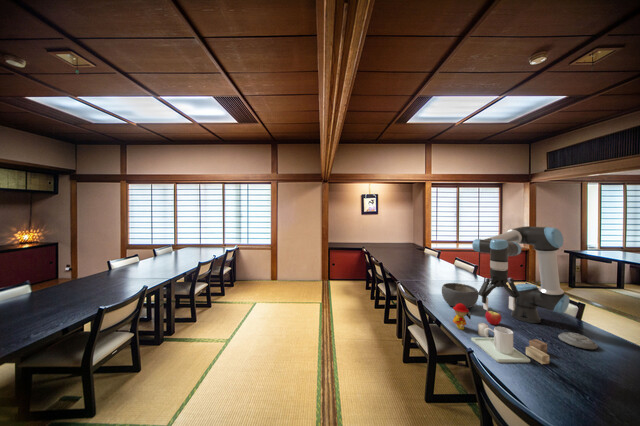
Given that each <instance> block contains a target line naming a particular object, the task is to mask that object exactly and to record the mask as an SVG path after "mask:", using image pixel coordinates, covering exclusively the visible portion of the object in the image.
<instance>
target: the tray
mask: <svg viewBox="0 0 640 426" xmlns="http://www.w3.org/2000/svg"><path fill="white" fill-rule="evenodd" d="M488 338H489V339H490V340H492V341H493V342H494V337H488ZM470 340H471V342H472V343H474V344H475V346H478V348H479V349H481V350H482V351H484V352H485V353H486V354H487V356H489V357H490V358H492V359H493V360H494V361H495V362H496V363H531V358H529V356H528V357H527V355H526V354H523V353H522V352H520V351H519V350H517V349H516V348H515V347H513V354H504V353H501V352H498V351H497V350H496V349H495V348H494V343H492V342H491V341H490V340H488V339H487V337H470Z"/></svg>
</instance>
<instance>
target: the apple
mask: <svg viewBox="0 0 640 426" xmlns="http://www.w3.org/2000/svg"><path fill="white" fill-rule="evenodd" d="M489 309H490V310H486V312H485V315H484V316H485V319H486V321H487V322H488V323H489V324H490V325H493V326H494V325H495V326H497V325H499V324H500V323H501V322H502V315H501V314H500V313H498V312H495V311H493V310H492V309H491V308H489Z"/></svg>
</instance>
